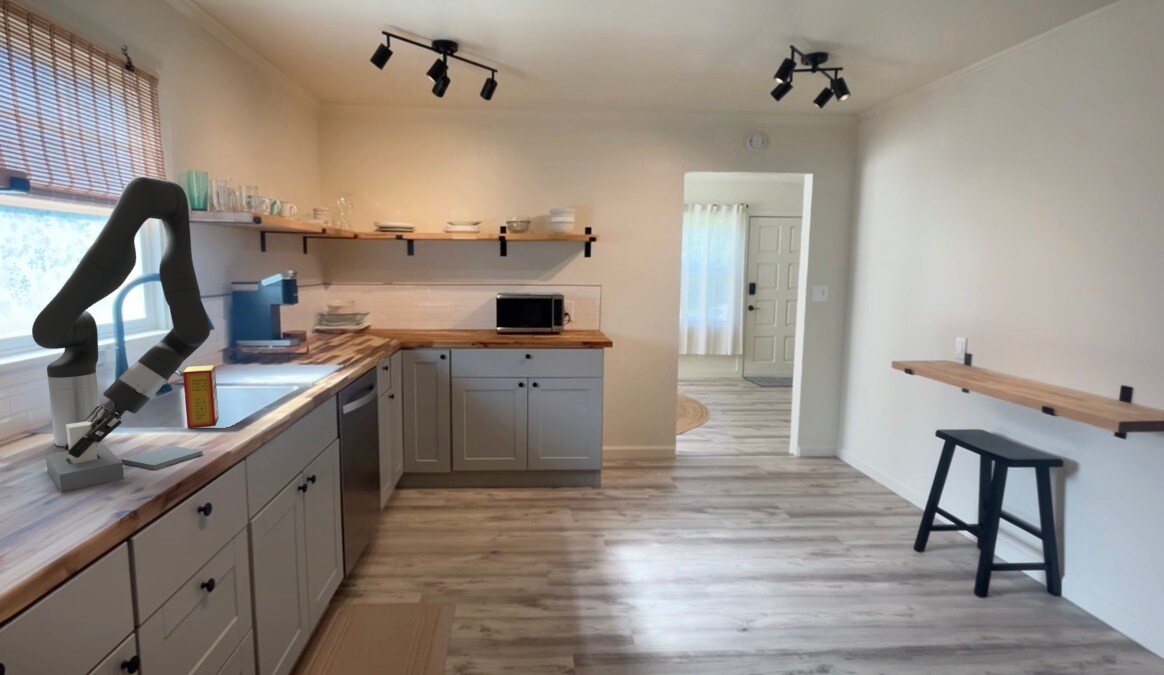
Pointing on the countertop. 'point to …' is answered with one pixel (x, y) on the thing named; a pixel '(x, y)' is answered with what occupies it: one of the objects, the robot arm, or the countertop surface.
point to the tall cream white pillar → (74, 435)
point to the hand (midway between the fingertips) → (70, 452)
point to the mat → (161, 457)
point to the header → (84, 469)
